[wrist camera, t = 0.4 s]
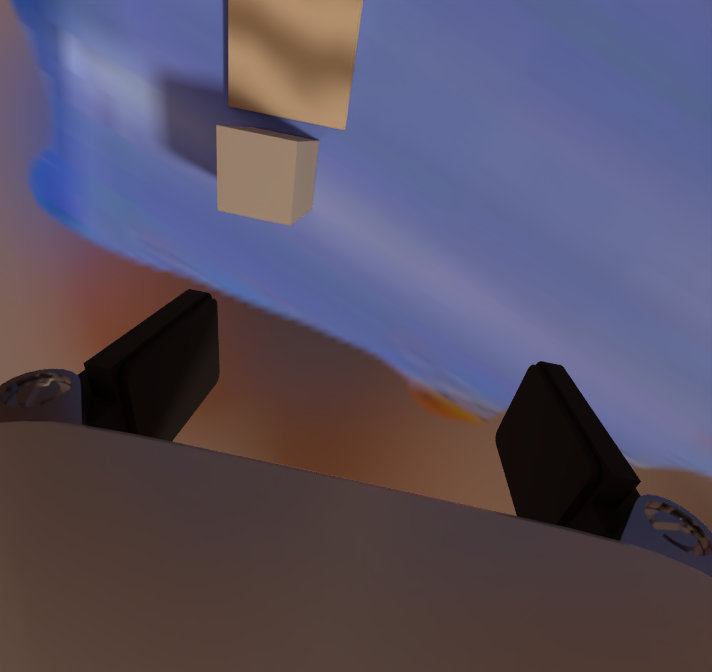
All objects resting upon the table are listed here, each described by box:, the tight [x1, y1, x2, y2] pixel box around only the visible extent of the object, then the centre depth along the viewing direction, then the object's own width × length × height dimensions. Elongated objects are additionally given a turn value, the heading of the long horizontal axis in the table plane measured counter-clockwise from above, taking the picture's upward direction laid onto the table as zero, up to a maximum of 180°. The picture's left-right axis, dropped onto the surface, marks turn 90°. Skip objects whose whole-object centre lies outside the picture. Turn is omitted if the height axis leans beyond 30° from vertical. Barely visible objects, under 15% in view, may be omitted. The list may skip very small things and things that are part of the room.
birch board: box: [228, 0, 363, 130], centre depth 31 cm, size 11×11×1 cm
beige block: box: [216, 125, 319, 226], centre depth 33 cm, size 6×6×8 cm
